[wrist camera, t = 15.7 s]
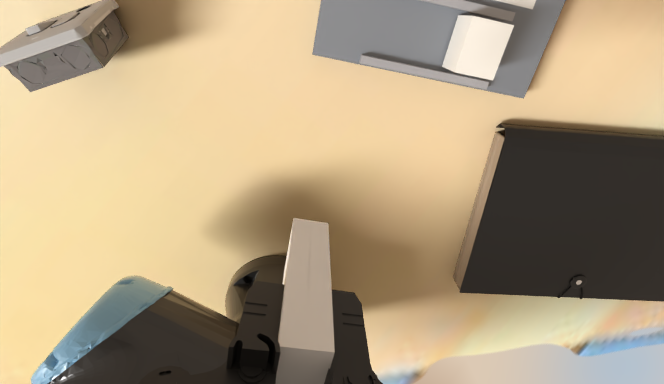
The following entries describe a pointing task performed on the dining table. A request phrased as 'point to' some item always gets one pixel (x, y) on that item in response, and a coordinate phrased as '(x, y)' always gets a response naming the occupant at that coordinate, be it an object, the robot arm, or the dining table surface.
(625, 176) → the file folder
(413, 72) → the switch panel
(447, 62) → the inner tab
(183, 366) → the robot arm
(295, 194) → the dining table surface
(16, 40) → the electrical switch
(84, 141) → the dining table surface
